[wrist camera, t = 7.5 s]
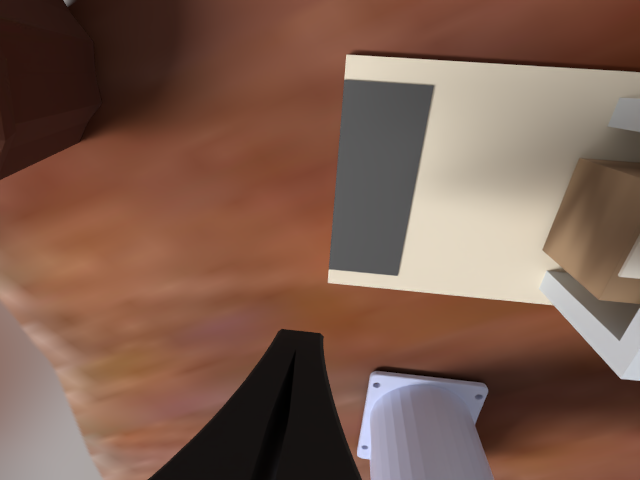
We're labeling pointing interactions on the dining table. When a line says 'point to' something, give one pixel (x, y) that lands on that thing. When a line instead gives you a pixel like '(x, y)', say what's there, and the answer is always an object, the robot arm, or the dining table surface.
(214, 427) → the robot arm
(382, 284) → the tunnel
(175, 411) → the dining table surface
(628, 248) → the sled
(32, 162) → the muffin
